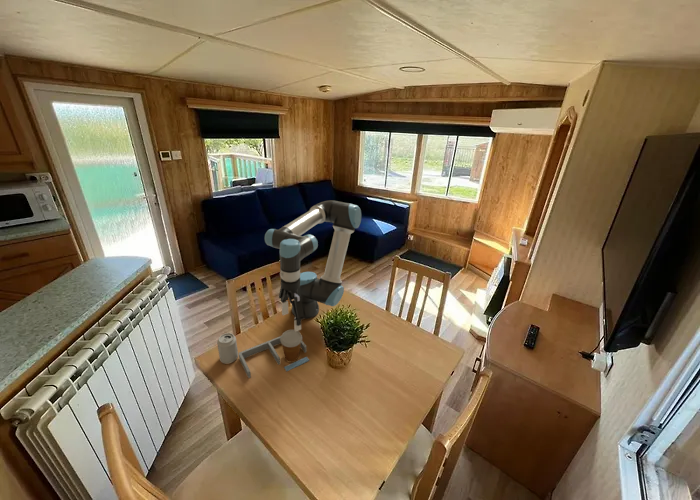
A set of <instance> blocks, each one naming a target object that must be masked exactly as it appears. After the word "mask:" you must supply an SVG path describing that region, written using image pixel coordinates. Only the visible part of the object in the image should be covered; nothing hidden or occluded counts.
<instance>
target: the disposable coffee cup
mask: <svg viewBox="0 0 700 500" xmlns="http://www.w3.org/2000/svg"><path fill="white" fill-rule="evenodd" d="M280 336H281V338H280V341H281V343H280V344H281V345H282V351H283V356H284V359H285V361H287V362H289V363H290V362H291V363H294V362H296V361H298V360H299V358H300V357H299V356H300V349H301V347H300V345H301V341H303V335H302V334H301V332H300V330H299V331H296V332H295V331H294V329H288V330H285V331H284V332H282V334H281V335H280Z"/></svg>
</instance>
